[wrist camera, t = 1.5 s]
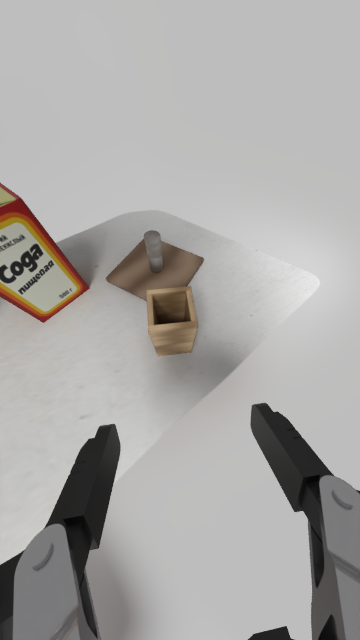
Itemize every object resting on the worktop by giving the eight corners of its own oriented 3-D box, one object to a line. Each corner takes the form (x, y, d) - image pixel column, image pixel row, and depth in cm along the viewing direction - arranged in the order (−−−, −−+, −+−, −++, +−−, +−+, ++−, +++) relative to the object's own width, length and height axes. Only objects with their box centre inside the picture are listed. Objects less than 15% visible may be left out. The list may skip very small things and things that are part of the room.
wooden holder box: (158, 356, 26) (148, 330, 17) (156, 326, 28) (146, 290, 20) (191, 352, 26) (197, 325, 18) (186, 322, 29) (190, 286, 20)
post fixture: (107, 281, 33) (88, 247, 25) (147, 239, 38) (141, 201, 31) (169, 312, 30) (167, 283, 23) (203, 261, 35) (209, 225, 28)
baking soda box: (43, 322, 28) (-92, 240, 14) (23, 302, 30) (-115, 210, 16) (89, 288, 32) (17, 193, 18) (69, 271, 34) (-11, 173, 19)
